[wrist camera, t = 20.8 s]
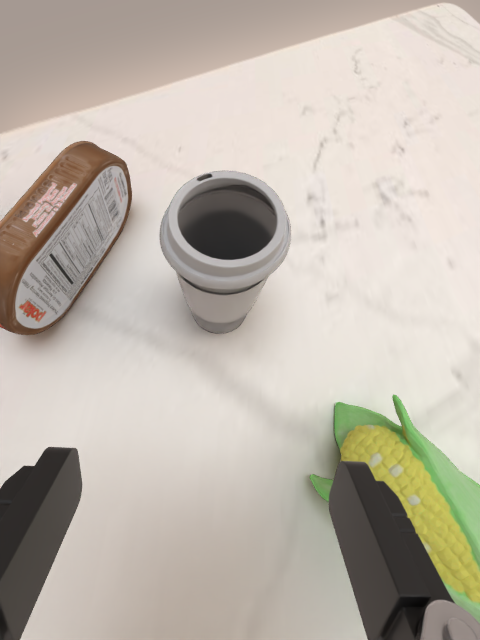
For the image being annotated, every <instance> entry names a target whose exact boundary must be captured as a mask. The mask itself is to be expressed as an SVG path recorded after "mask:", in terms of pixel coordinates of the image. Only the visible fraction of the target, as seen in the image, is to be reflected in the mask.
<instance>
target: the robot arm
mask: <svg viewBox="0 0 480 640" xmlns="http://www.w3.org/2000/svg"><path fill="white" fill-rule="evenodd" d="M81 492H82V478H81V471H80V464H79V456H78V451H77V449H76V448H61V447H48V448H47V449H46V450H45V451H44V452H43V454H42V455H41V457H40V458H39V460H38V462H37V463H36V465H35V466H23V467H22V468H21V469H20V470H19V471H17V472H16V473H15V474H14V475H12V476H11V477H10V478H9V479H8V480H6V481H5V483H4V484H3V486H2V487H1V488H0V640H20V638H21V636H22V633H23V631H24V629H25V626H26V624H27V622H28V619H29V617H30V615H31V613H32V610H33V608H34V606H35V603H36V601H37V599H38V596H39V594H40V592H41V590H42V587H43V585H44V583H45V580H46V578H47V576H48V573H49V571H50V569H51V567H52V564H53V562H54V560H55V557H56V555H57V553H58V550H59V548H60V546H61V544H62V541H63V539H64V537H65V534H66V532H67V530H68V527H69V525H70V523H71V521H72V518H73V516H74V514H75V511H76V509H77V507H78V504H79V501H80V497H81ZM329 511H330V515H331V519H332V522H333V525H334V529H335V532H336V535H337V539H338V542H339V545H340V548H341V552H342V555H343V558H344V562H345V565H346V568H347V572H348V575H349V578H350V582H351V585H352V588H353V592H354V595H355V598H356V601H357V605H358V608H359V611H360V615H361V618H362V621H363V625H364V628H365V631H366V635H367V638H368V640H480V623H479V622H478V621H477V620H476V619H475V618H474V617H473V616H472V615H471V614H470V613H469V612H468V611H466V610H465V609H463V608H462V607H460V606H459V605H457V604H456V603H455V602H454V601H453V599H452V598H451V596H450V594H449V593H448V591H447V589H446V587H445V585H444V583H443V581H442V579H441V577H440V575H439V573H438V572H437V570H436V568H435V566H434V564H433V562H432V560H431V558H430V556H429V554H428V553H427V551H426V549H425V547H424V545H423V543H422V541H421V539H420V537H419V535H418V533H416V532H415V528H414V526H413V524H412V522H411V520H410V518H408V516H407V515H408V514H407V512H406V511H405V509H404V507H403V505H402V503H401V501H400V499H399V497H398V496H397V495H396V494H395V493H394V492H393V490H392V489H391V488H390V487H389V486H388V485H387V484H386V483H385V482H384V481H376V480H375V478H374V476H373V474H372V472H371V470H370V468H369V466H368V464H367V463H366V462H358V461H340V462H339V464H338V467H337V470H336V473H335V477H334V480H333V483H332V486H331V489H330V493H329Z"/></svg>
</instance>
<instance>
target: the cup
mask: <svg viewBox="0 0 480 640" xmlns="http://www.w3.org/2000/svg"><path fill="white" fill-rule="evenodd" d="M290 241H291V226H290V222H289V218H288V215H287V213H286V211H285V209H284V206H283V203H282V201H281V200H280V198H279V196H278V195H277V194H276V193H275V191H274V190H273V189H272V188H271V187H269V186H268V185H267V184H266V183H265V182H263V181H261V180H260V179H258V178H256V177H253V176H251V175H248V174H246V173H241V172H236V171H214V172H209V173H205V174H202V175H200V176H197V177H195V178H193V179H191V180H190V181H188V182H187V183H185V184H184V185H183V186H182V187H181V188H180V189H179V190H178V191H177V193H176V194H175V196H174V197H173V199H172V201H171V203H170V205H169V207H168V208H167V210H166V211H165V214H164V217H163V219H162V222H161V227H160V244H161V248H162V251H163V254H164V256H165V258H166V260H167V261H168V263H169V264H170V265H171V267H172V268H173V269H174V270H175V271H176V273H177V276H178V279H179V282H180V285H181V288H182V290H183V293H184V296H185V299H186V302H187V304H188V306H189V307H190V309H191V311H192V314H193V317H194V319H195V321H196V322H197V323H198V325H199V326H201V327H202V328H203V329H205V330H207V331H209V332H212V333H227V332H230V331H233V330H234V329H236V328H237V327H238V326H240V325H241V323H242V322H243V320H244V319H245V317H246V315H247V313H248V312H249V310H250V309H251V308H252V306H253V305H254V303H255V301H256V299H257V297H258V295H259V293H260V291H261V289H262V288H263V286H264V284H265V282H266V280H267V278H268V276H269V275H270V274H272V273H273V272H274V271H275V270H276V269H277V268H278V267H279V266H280V264H281V263H282V262H283V260H284V259H285V257H286V255H287V253H288V250H289V247H290Z"/></svg>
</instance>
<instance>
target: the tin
mask: <svg viewBox="0 0 480 640" xmlns="http://www.w3.org/2000/svg"><path fill="white" fill-rule="evenodd" d="M131 200H132V190H131V182H130V176H129V171H128V168H127V165H126V163H125V162H124V161H123V160H122V159H121V158H119V157H118V156H116V155H114V154H112V153H110V152H108V151H105V150H103V149H101V148H99V147H98V146H97V145H95V144H94V143H92V142H88V141H79V142H76V143H73V144H71V145H70V146H68V147H66V148H65V149H64V150H63V151H62V152H61V153H60V154H59V155H58V156H57V157H56V158H55V159H54V161H53V162H52V163H51V164H50V165H49V166H48V168H47V169H46V170H45V171H44V172H43V173H42V174H41V176H40V177H39V178H38V179H37V180H36V181H35V183H34V184H33V185H32V186H31V187H30V188H29V189H28V191H27V192H26V193H25V194H24V195H23V196H22V197H21V199H20V200H19V201H18V202H17V203H16V204H15V206H14V207H13V208H12V209H11V210H10V211H9V212H8V213H7V214H6V215H5V217H4V218H3V219H2V220H1V221H0V327H1V328H4V329H6V330H8V331H10V332H13V333H16V334H21V335H33V334H38V333H40V332H43V331H45V330H47V329H48V328H50V327H51V326H53V325H54V324H55V323H56V322H58V321H59V320H60V319H61V318H62V317H63V316H64V315H65V314H66V312H67V311H68V310H69V309H70V307H71V306H72V304H73V303H74V301H75V300H76V299H77V297H78V296H79V294H80V293H81V291H82V290H83V288H84V287H85V286H86V284H87V283H88V281H89V280H90V278H91V277H92V276H93V274H94V273H95V271H96V270H97V268H98V267H99V265H100V264H101V262H102V261H103V259H104V258H105V256H106V255H107V253H108V252H109V250H110V249H111V247H112V246H113V244H114V243H115V241H116V240H117V238H118V237H119V235H120V233H121V231H122V229H123V227H124V225H125V222H126V220H127V217H128V214H129V210H130V206H131Z"/></svg>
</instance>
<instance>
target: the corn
mask: <svg viewBox="0 0 480 640" xmlns="http://www.w3.org/2000/svg"><path fill="white" fill-rule="evenodd" d="M393 402H394V405H395V409H396V413H397V415H398V417H399V420H400V422H401V425H402V427H401V426H399V425H396V424H394V423H393V422H392V421H390V420H389V419H387V418H386V417H385V416H383V415H381V414H379V413H376V412H373V411H371V410H368V409H365V408H362V407H358V406H352V405H348V404H344V403H341V402H337V403H336V405H335V420H334V429H335V437H336V441H337V444H338V446H339V449H340V453H341V454H342V456H341V461H358V462H366V463H367V464H368V466H369V468H370V470H371V472H372V474H373V476H374V478H375V480H376V481H384V482H385V483H386V484H387V485H388V486H389V487H390V488H391V489H392V490H393V492H394V493H395V494H396V495H397V496H398V497H399V499H400V501H401V503H402V505H403V507H404V509H405V511H406V512H407V514H408V515H407V516H408V518H410V520H411V522H412V524H413V526H414V528H415V532H416V533H418V535H419V537H420V539H421V541H422V543H423V545H424V547H425V549H426V551H427V553H428V554H429V556H430V558H431V560H432V562H433V564H434V566H435V568H436V570H437V572H438V573H439V575H440V577H441V579H442V581H443V583H444V585H445V587H446V589H447V591H448V593H449V594H450V596H451V598H452V599H453V601H454V602H455V603H456V604H457V605H459V606H460V607H462V608H463V609H465V610H466V611H468V612H469V613H470V614H471V615H472V616H473V617H474V618H475V619H476V620H477V621H478V622H479V623H480V485H479V484H478V483H476V482H475V481H473V480H472V479H470V478H469V477H467V476H466V475H464V474H463V473H462V472H460V471H459V470H458V469H457V467H456V466H455V465H454V464H453V463H452V462H451V461H450V460H449V459H448V458H447V457H446V455H445V454H444V453H442V452H441V451H440V450H439V449H438V448H437V447H436V446H435V445H434V444H432V443H431V442H430V441H429V440H428V439H426V438H425V437H424V436H423V435H422V434H421V433H420V432H419V431H418V430H417V429H416V428H415V427H414V426H413V424H412V423H411V420H410V418H409V416H408V414H407V412H406V410H405V408H404V406H403V404H402V402H401V400H400V399H399V398H398V397H397V396H396V395H393ZM310 479H311V481H312V483H313V486H314V488H315V489H316V491H317V492H318V493H319V494H320V496H321V497H322V498H323V499H324V500H326V501H327V502H329V493H330V489H331V486H332V483H333V480H330V479H325V478H321V477H319V476H316V475H314V474H312V475H311V476H310Z"/></svg>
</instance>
